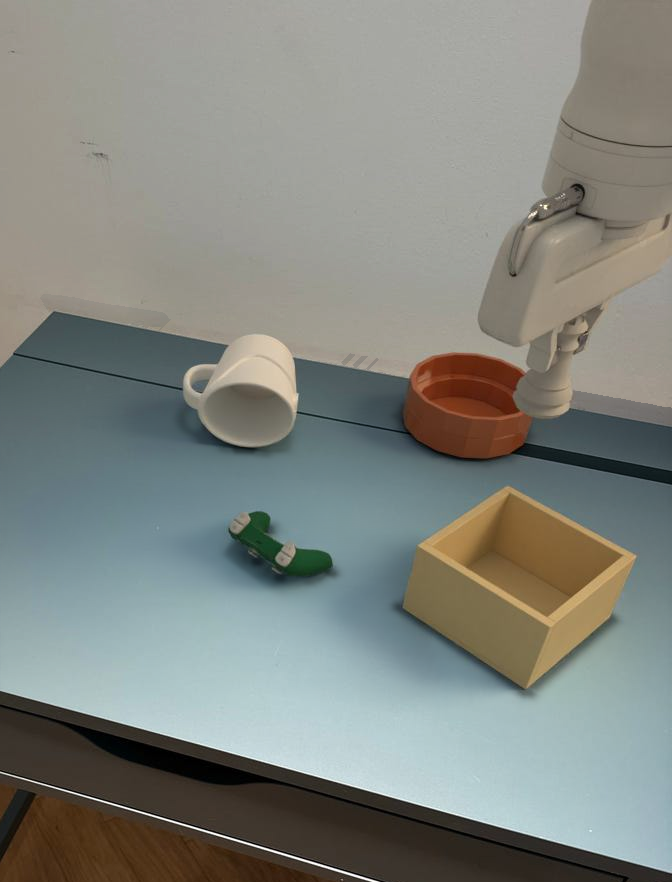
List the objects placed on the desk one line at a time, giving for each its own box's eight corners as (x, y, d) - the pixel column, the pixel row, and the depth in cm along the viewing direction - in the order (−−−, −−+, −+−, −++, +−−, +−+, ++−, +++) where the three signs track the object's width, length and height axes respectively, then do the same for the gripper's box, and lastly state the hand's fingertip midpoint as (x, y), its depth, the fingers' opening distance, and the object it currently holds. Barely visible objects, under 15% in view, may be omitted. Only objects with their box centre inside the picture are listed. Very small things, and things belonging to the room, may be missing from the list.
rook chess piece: (554, 389, 81) (584, 295, 75) (577, 419, 78) (611, 324, 72) (502, 392, 80) (528, 298, 74) (523, 423, 77) (553, 327, 71)
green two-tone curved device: (243, 546, 94) (212, 530, 89) (265, 511, 93) (235, 494, 88) (315, 596, 89) (287, 582, 84) (339, 560, 88) (312, 544, 83)
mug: (298, 405, 108) (306, 338, 102) (290, 454, 101) (298, 385, 96) (189, 393, 109) (191, 326, 104) (175, 441, 103) (176, 372, 97)
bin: (488, 546, 92) (507, 484, 87) (609, 618, 85) (637, 555, 80) (402, 608, 86) (417, 545, 81) (525, 689, 79) (550, 627, 74)
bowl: (451, 380, 112) (461, 340, 109) (550, 430, 106) (563, 388, 102) (377, 422, 106) (385, 380, 103) (477, 477, 100) (489, 434, 96)
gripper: (568, 225, 59) (509, 424, 69) (732, 150, 69) (661, 333, 79) (482, 192, 63) (437, 386, 72) (651, 125, 73) (591, 304, 82)
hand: (555, 358), depth 76 cm, fingers closed on rook chess piece, 3 cm apart
